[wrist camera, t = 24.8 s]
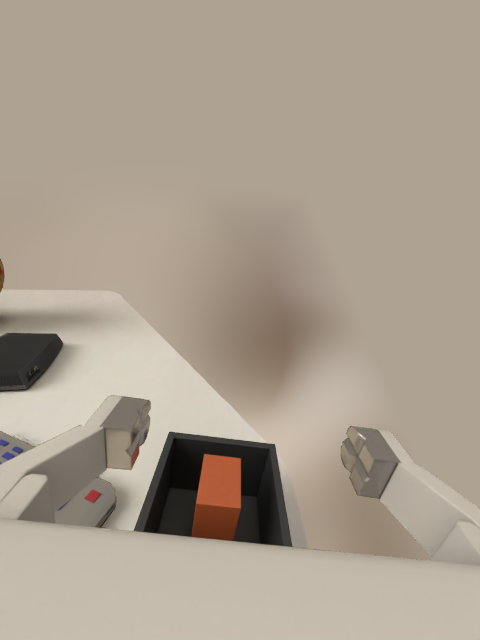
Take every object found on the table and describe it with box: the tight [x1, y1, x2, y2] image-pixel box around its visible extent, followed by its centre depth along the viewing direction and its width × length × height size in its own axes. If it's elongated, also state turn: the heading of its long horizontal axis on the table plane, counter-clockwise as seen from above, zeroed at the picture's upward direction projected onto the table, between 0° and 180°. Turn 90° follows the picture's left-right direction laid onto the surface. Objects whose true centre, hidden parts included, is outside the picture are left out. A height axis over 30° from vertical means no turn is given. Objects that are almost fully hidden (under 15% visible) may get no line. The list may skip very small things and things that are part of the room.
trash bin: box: [134, 432, 292, 547], centre depth 25 cm, size 14×14×10 cm
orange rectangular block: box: [191, 454, 241, 541], centre depth 25 cm, size 4×5×11 cm
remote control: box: [0, 431, 116, 528], centre depth 29 cm, size 8×23×2 cm, turn 73°
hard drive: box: [0, 333, 63, 390], centre depth 51 cm, size 13×19×4 cm
